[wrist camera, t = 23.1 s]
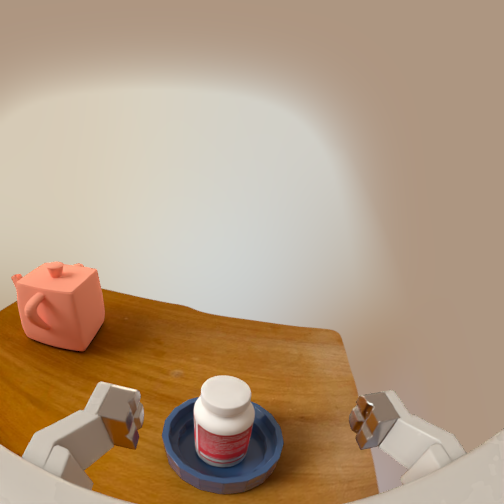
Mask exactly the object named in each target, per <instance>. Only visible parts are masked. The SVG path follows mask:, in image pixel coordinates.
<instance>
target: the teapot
mask: <svg viewBox="0 0 504 504" xmlns="http://www.w3.org/2000/svg"><path fill="white" fill-rule="evenodd" d="M11 278H12V280H13V283H14V285H15V287H16V289H17V300H18V307H19V313H20V318H21V322H22V326H23V329H24V331H25V333H26V335H27V337H29V338H31V339H33V340H36V341H39V342H42V343H45V344H48V345H51V346H55V347H59V348H64V349H69V350H75V351H85V349H86V348H87V347H88V345H89V344H90V342H91V341H92V339H93V338H94V336H95V335H96V333H97V332H98V330H99V328H100V327H101V325H102V323H103V322H104V317H105V309H104V302H103V296H102V291H101V286H100V281H99V277H98V272H97V270H96V269H93V268H87V267H84V266H83V265H82V264H79V263H78V264H75V265H65V264H63V263H61V262H52V263H44V264H42V265H41V266H39V267H38V268H36V269H34V270H33V271H31V272H30V273H29V274H27V275H26V276H24V277H22V276H21V274H16V275H14V276H12V277H11Z"/></svg>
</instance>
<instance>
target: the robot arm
mask: <svg viewBox="0 0 504 504" xmlns="http://www.w3.org/2000/svg"><path fill="white" fill-rule="evenodd" d="M140 398H141V395H140V391H138V390H135V389H130V388H126V387H122V386H118V385H114V384H109V383H105V382H102V381H101V382H99V383H98V384H97V386H96V388H95V390H94V392H93V393H92V395H91V397H90V399H89V401H88V403H87V405H86V407H85V409H84V411H83V410H79V411H77V412H75V413H73V414H71V415H69V416H68V417H66V418H64V419H62V420H60V421H58V422H56V423H54V424H52V425H50V426H48V427H46V428H44V429H42V430H40V431H38V432H36V433H35V434H34V435H33V437H32V439H31V441H30V443H29V444H28V446H27V448H26V450H25V452H24V454H23V456H22V458H21V457H20V456H18V455H16V454H15V453H13V452H11V451H10V450H8V449H7V448H5V447H4V446H2V445H1V444H0V504H136V503H131V502H128V501H124V500H120V499H117V498H113V497H110V496H107V495H104V494H101V493H98V492H95V491H92V486H93V482H92V480H91V479H90V478H89V477H88V475H87V474H86V473H85V472H84V470H85V469H86V468H88V467H89V466H90V465H91V464H93V463H94V462H95V461H96V460H98V459H99V458H100V457H101V456H103V455H104V454H105V453H106V452H107V451H109V450H110V449H111V448H112V447H114V445H116V446H120V447H125V448H129V449H134V450H136V446H137V443H138V439H139V434H138V431H137V430H139V429H140V428H142V424H143V419H144V409H143V405H142V404H141V403H140V402H139V401H140ZM356 403H357V406H356V407H355V408H353V409H352V411H351V413H350V417H349V423H350V427H351V429H352V431H354V432H355V433H357V435H356V438H355V439H356V441H357V443H358V445H359V448H360V450H363V449H368V448H372V447H377V446H379V448H380V449H382V450H383V451H384V452H385V453H386V454H388V455H389V456H390V457H392V458H393V459H394V460H396V461H397V462H398V463H400V464H401V465H402V466H404V467H405V468H406V469H408V470H407V471H406V472H405V473H404V474H403V475H402V477H401V478H400V480H401V482H402V484H403V485H402V486H400V487H397V488H394V489H391V490H388V491H386V492H383V493H380V494H377V495H373V496H370V497H367V498H363V499H360V500H356V501H352V502H348V503H344V504H504V429H502V430H501V431H500V432H498V433H497V434H496V435H494V436H493V437H491V438H490V439H489V440H487V441H486V442H484V443H483V444H481V445H480V446H478V447H477V448H475V449H474V450H472V451H470V452H469V453H466V451H465V450H464V448H463V447H462V446H461V444H460V443H459V441H458V440H457V438H456V437H455V435H454V434H452V433H450V432H448V431H445V430H443V429H441V428H439V427H437V426H435V425H433V424H431V423H429V422H427V421H425V420H423V419H421V418H419V417H417V416H415V415H411V414H410V413H409V412H408V410H407V408H406V407H405V405H404V404H403V402H402V401H401V399H400V398H399V397H398V395H397V394H396V392H395V391H393V390H389V391H384V392H378V393H372V394H366V395H361V396H359V397H358V399H357V401H356Z"/></svg>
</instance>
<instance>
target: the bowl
mask: <svg viewBox="0 0 504 504" xmlns="http://www.w3.org/2000/svg"><path fill="white" fill-rule="evenodd" d="M198 398H199V397H197V398H193V399H189V400H187V401H186V402H184V403H183V404H181V405H179V406H178V407H176V408H174V410H173V411H172V412H171V414H170V415H169V416H168V417H167V419H166V420H165V424H164V428H163V433H162V438H163V443H164V447H165V451H166V455H167V458H168V462H169V465H170V466H171V467H172V469H173V470H174V471H175V472H176V473H177V474H178V476H179V477H180V478H181V479H182V480H184V481H185V482H187V483H189V484H191V485H192V486H194V487H196V488H198V489H200V490H204V491H208V492H213V493H219V494H230V493H239V492H245V491H247V490H249V489H251V488H253V487H256V486H258V485H260V484H262V483H263V482H264V481H265V480H266V479H267V478H268V477H269V476H270V474H271V473H272V472H273V471H274V469H275V467H276V465H277V463H278V460H279V458H280V455H281V451H282V448H283V444H284V441H283V436H282V431H281V428H280V426H279V424H278V423H277V422H276V420H275V419H274V417H273V416H272V414H270V413H269V412H268V411H266V410H265V409H264V408H262V407H261V406H260V405H258V404H256V403H253V402H251V401H250V402H251V403H252V405H253V407H254V410H255V417H254V422H253V427H252V432H251V436H250V441H249V445H248V450H247V453H246V456H245V457H244V459H243V460H242V461H241V462H240V463H238V464H236V465H234V466H231V467H215V466H211V465H209V464H207V463H206V462H204V461H203V460H202V459H201V458H200V457H199V456H198V454H197V452H196V449H195V434H194V405H195V403H196V401H197V399H198Z"/></svg>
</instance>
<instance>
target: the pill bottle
mask: <svg viewBox="0 0 504 504" xmlns="http://www.w3.org/2000/svg"><path fill="white" fill-rule="evenodd" d="M250 400H251V390H250V388H249V386H248V385H247V384H246V383H245V382H244V381H242V380H240V379H238V378H236V377H232V376H216V377H212V378H210V379H208V380H207V381H206V382H205V383H204V384H203V386H202V388H201V396H200V397H199V398H198V399H197V401H196V403H195V405H194V434H195V449H196V452H197V454H198V456H199V457H200V458H201V459H202V460H203V461H204V462H206V463H207V464H209V465H211V466H215V467H231V466H234V465H236V464H238V463H240V462H241V461H242V460H243V459H244V457H245V456H246V453H247V450H248V445H249V441H250V436H251V432H252V427H253V422H254V417H255V410H254V407H253V405H252V403H251V402H250Z"/></svg>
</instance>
